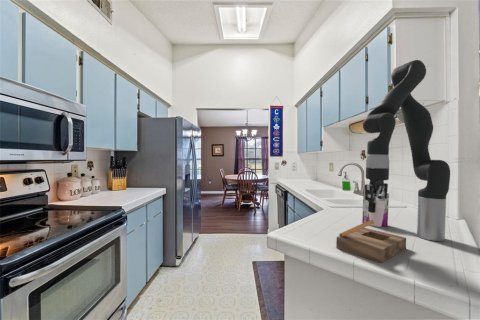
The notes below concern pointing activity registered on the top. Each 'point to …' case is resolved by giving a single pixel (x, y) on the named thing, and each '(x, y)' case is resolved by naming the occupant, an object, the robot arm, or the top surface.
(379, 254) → the socket block
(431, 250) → the top surface
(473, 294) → the top surface
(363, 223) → the bar
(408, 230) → the top surface
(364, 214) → the candy bar box
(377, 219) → the smoothie
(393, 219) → the top surface
